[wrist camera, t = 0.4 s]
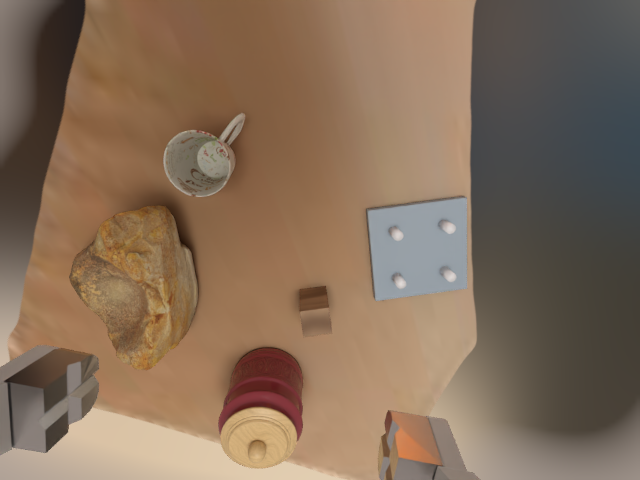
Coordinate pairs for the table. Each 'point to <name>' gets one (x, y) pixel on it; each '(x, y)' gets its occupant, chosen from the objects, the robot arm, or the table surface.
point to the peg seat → (418, 247)
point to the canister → (262, 409)
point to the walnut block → (315, 312)
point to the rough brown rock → (139, 284)
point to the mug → (201, 160)
